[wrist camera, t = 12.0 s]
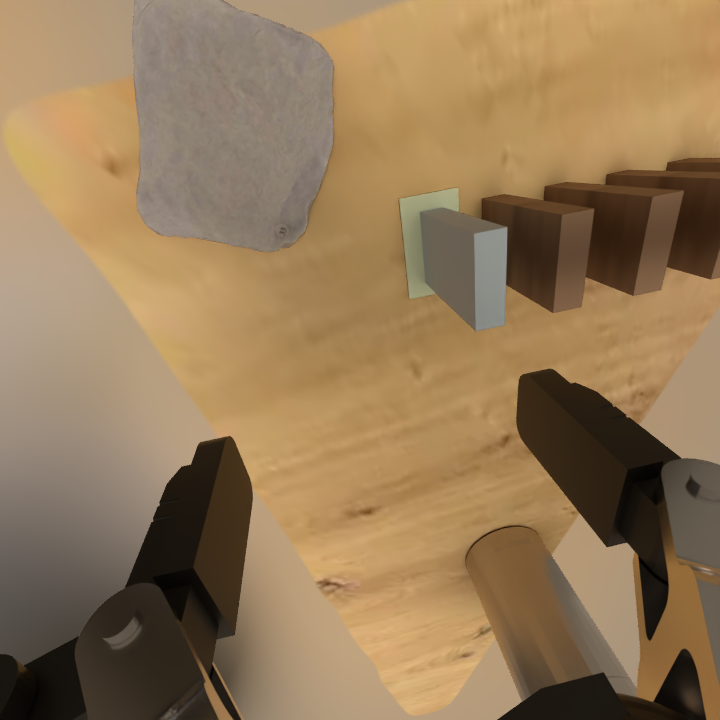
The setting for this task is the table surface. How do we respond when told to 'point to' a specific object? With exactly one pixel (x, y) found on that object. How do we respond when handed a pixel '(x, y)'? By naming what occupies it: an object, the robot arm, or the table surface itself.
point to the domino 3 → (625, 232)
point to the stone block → (228, 123)
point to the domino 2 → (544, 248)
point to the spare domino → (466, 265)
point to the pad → (413, 236)
